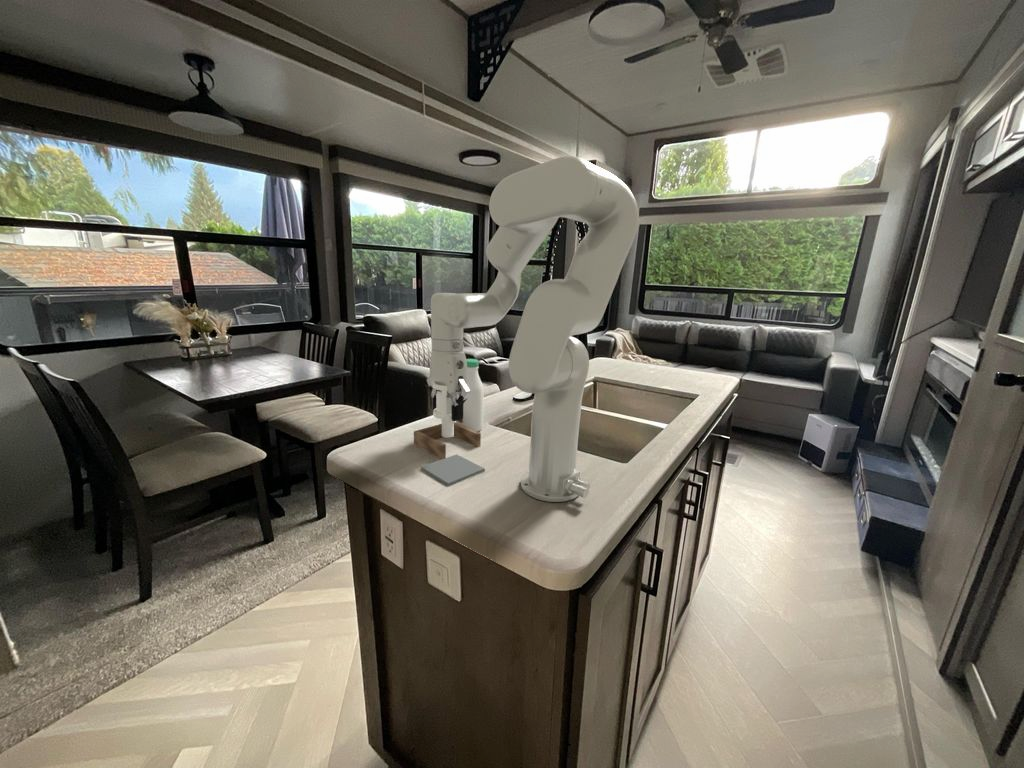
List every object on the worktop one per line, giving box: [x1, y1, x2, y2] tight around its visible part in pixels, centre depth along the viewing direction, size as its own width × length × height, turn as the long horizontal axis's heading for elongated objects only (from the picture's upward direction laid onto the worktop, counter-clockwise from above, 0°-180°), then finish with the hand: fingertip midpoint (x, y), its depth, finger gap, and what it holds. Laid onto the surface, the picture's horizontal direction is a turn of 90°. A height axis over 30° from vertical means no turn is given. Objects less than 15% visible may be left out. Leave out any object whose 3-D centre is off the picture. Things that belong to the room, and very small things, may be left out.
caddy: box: [413, 421, 482, 460], centre depth 102 cm, size 12×12×4 cm
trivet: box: [420, 454, 486, 487], centre depth 89 cm, size 10×10×1 cm
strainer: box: [432, 382, 459, 439], centre depth 100 cm, size 7×7×15 cm
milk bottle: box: [455, 358, 485, 432], centre depth 112 cm, size 8×8×20 cm
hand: (447, 415), depth 100 cm, fingers closed on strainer, 7 cm apart
